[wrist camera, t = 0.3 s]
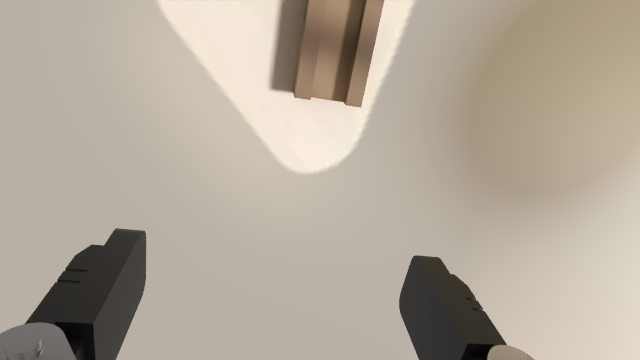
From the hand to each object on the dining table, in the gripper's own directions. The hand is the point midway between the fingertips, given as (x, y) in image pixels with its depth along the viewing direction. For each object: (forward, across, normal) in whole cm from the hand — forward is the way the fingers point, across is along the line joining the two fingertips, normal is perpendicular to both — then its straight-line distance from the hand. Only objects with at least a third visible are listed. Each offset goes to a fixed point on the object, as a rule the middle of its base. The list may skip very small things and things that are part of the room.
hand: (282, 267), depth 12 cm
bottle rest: (+27, -5, -5) cm, 28 cm away
